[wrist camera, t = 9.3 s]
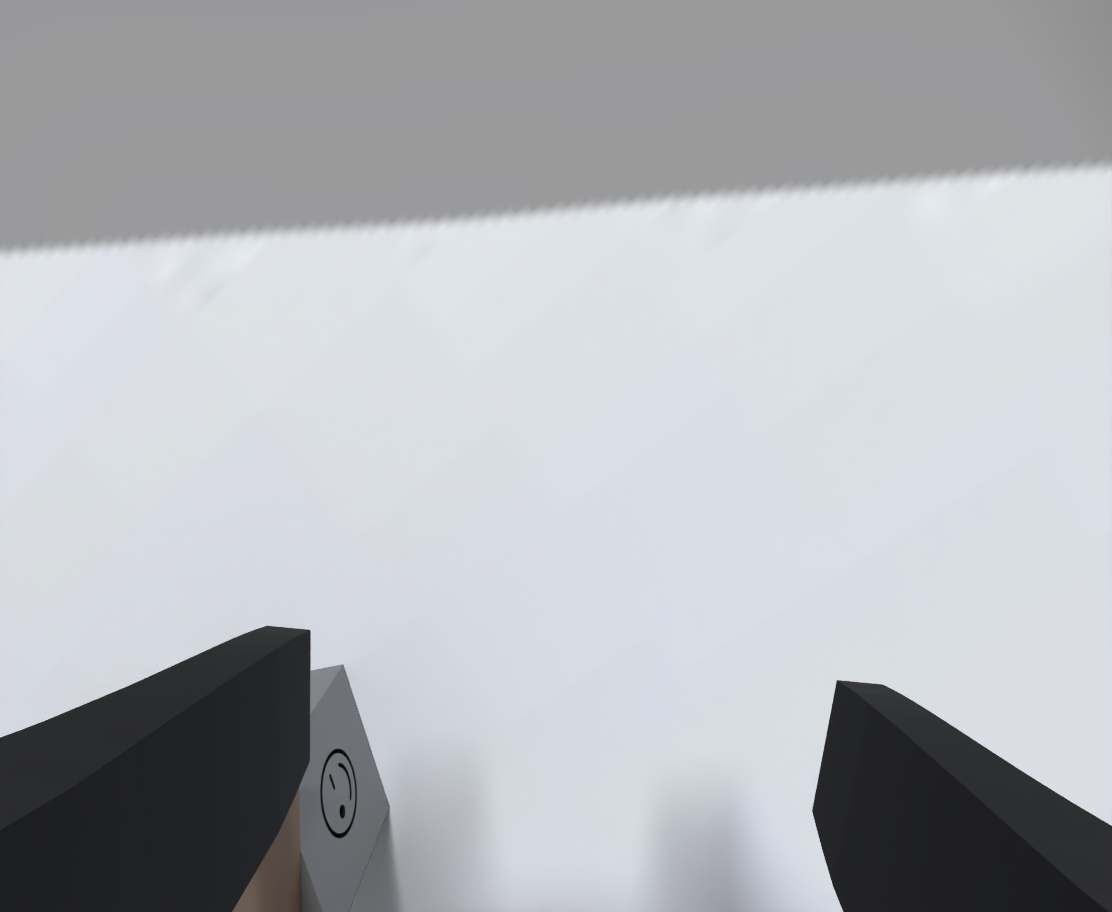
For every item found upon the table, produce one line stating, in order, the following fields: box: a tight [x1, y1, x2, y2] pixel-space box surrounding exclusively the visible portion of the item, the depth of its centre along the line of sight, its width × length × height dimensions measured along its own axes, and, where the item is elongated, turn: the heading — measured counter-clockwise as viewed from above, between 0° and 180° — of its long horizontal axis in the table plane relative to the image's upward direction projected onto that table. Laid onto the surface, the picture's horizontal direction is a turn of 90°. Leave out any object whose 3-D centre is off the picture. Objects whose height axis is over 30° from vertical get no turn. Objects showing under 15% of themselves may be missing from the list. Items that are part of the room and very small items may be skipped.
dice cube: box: [299, 665, 390, 912], centre depth 20 cm, size 5×5×5 cm
